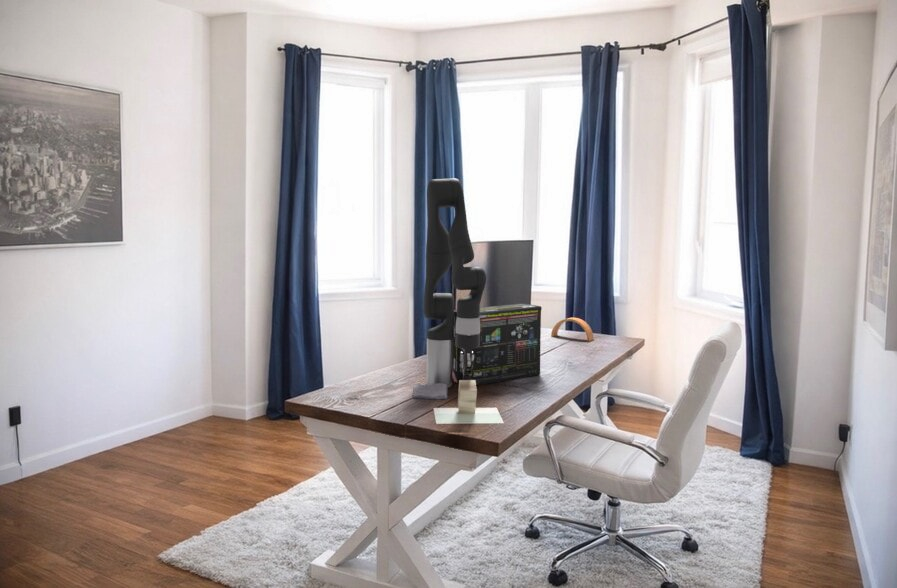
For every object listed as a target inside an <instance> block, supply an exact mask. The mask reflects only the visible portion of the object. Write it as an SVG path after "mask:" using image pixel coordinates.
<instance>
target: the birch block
mask: <svg viewBox="0 0 897 588" xmlns="http://www.w3.org/2000/svg"><path fill="white" fill-rule="evenodd" d="M457 395H458V396H457V408H458V410H459V413H475V408H477V395H478V389H477V386H476V380H459V384H458V393H457Z"/></svg>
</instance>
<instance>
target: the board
mask: <svg viewBox="0 0 897 588" xmlns="http://www.w3.org/2000/svg"><path fill="white" fill-rule="evenodd" d="M433 413H434V418H435V423H436V425H437V424H439V425H441V424H442V425H446V424H451V425H452V424H459V425H461V424H469V425H470V424H474V425H476V424H505V422H504V420H503V418H502V416H501V414H500V412H499V409H498V408H497V407H476V408H475V413H459V410H458V407H433Z"/></svg>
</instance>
